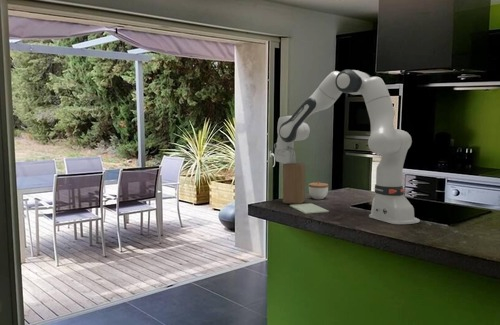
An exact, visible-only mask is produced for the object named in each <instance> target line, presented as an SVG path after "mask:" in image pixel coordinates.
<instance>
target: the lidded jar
mask: <svg viewBox="0 0 500 325" xmlns="http://www.w3.org/2000/svg"><path fill="white" fill-rule="evenodd" d="M308 193H309V196H311V198H312V199H313V198H314V200H324V199H325V198H326V196H328V193H329V184H328V183H325V182H320V181H319V180H317V182H310V183H308Z"/></svg>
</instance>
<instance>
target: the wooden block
mask: <svg viewBox="0 0 500 325" xmlns="http://www.w3.org/2000/svg"><path fill="white" fill-rule="evenodd" d="M305 201H306V165H305V163H303V162H296V163H293V164H289V163H286V164H284V165H283V171H282V203H283V204H289V205H295V204H304V202H305Z"/></svg>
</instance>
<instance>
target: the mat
mask: <svg viewBox="0 0 500 325" xmlns="http://www.w3.org/2000/svg"><path fill="white" fill-rule="evenodd" d="M289 206H290V207H291V208H293V209H295V210H297V211H298V212H299V211H300V212H302V213H303V214H305V215H307V214H319V213H329V212H330V211H329V209H326V208H323V207H321V206H319V205H316V204H314V203H312V202H311V203H302V204H289Z"/></svg>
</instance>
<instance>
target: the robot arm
mask: <svg viewBox="0 0 500 325" xmlns="http://www.w3.org/2000/svg"><path fill="white" fill-rule="evenodd" d="M389 92H390V91H389V89H388V86H386V83H385V82H384V80H383V78H381V77H379V76H372V75H370V74H369V73H368V72H363V71H360V70H358V69H357V70H356V69H343V70H341V71H338V70H334V71H331V72H330V73H329V74H328V75H327V76H326V77H325V78H324V79H323V80H322V82H320V84H319V85H318V87H317V88H316V89H315V90H314V92H313V93H312V94H311V95H310V96H309V97H307V99H306V100H305V101H304V102H303V103H302V104H301V105H300V106H299V107H298V108H297V109H296V111H295V112H294V113H293V114H292V115H291V114H287V115H281V116H280V117H279V118H278V121H277V128H276V129H277V132H276V133H277V139H276V143H274V144H273V148H274V160H275V162H278V163H281V164H280V165H281V168H282V169H281V170H282V172H283V165H284V164H286V163H289V164H293V163H297V161H296V160H297V159H296V151H295V150H294V146H295V145H294V144H295V142H298V141H305V140H307V139H308V138H309V137H310V135H311V128H310V125H309V124H308V123H306V120H307V119H308V118H309V117H310V116H311V115H313V114H315V113H317V112H321V111H322V112H323V111H325V110H327V109H329V108H331V106H333V105H334V104H335V103H336V101H337V100H338V99H339V98H340V97H341V95H342V94H343V93H344V94H350V95H352V96H357V95H360V96H362V97H363V100H364V103H365V106H366V110H367V114H368V118H369V122H370V136H369V137H368V140H367V145H368V148H369V150H370V151H371V152H372V153H374V154H376V155H379V156H381V158H380V161H379V163H378V164H377V166H376V168H375V169H376V170H375V171H376V174H375V178H376V179H375V184H374V197H373V198H372V204H371V211H370V214H369V215H368V218H370V219H375V220H378V221H381V222H384V223H389V224H392V225H411V224H413V225H414V224H417V223H421V220H420V219H419V218H417V217H415V208H414V206H413V205H412V204H411V202H410V201H409V200H408V199H407V197H406V196H405V193H406V189H404V187H403V184H402V183H403V170H404V169H403V168H404V164H405V160H406V157H407V153H408V150H409V149H410V148H411V146H412V143H413V140H412V136H411V134H409V132H408V131H405V130H402V129H398V128H397V129H395V126H394V125H395V124H394V117H395V114H396V112H395V111H396V110H395V109H394V105H393V101H392V99H391V94H390V93H389Z"/></svg>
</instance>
